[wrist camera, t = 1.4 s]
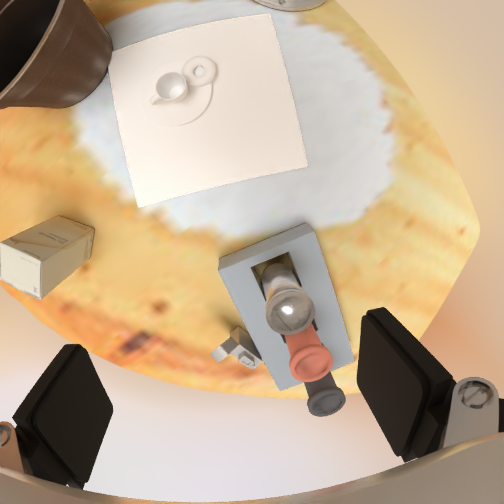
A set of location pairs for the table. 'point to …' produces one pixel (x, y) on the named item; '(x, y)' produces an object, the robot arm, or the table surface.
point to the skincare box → (44, 255)
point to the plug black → (324, 396)
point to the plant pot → (50, 53)
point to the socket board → (310, 280)
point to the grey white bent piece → (239, 349)
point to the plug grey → (286, 301)
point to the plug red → (308, 356)
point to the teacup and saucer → (205, 108)
